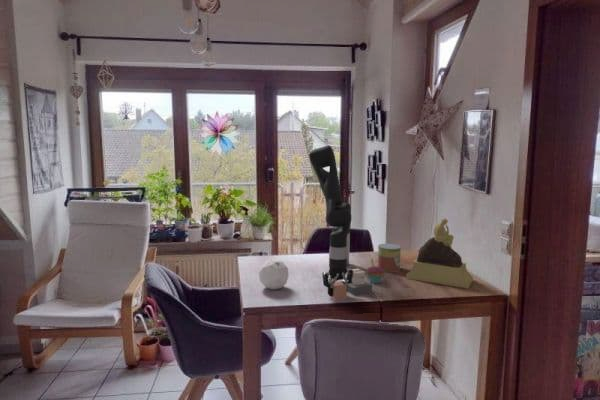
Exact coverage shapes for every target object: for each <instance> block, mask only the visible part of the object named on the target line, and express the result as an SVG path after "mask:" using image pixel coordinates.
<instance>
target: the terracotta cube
mask: <svg viewBox="0 0 600 400" xmlns="http://www.w3.org/2000/svg"><path fill="white" fill-rule="evenodd" d="M332 288H333V296H329V297H330V298H332V299H333V300H335V301H336V300H343V299H347V297H348V295H347V293H348V292H347V285H345V284H343V283H342V282H341V281H336V282H335V283H334V285H333V287H332Z"/></svg>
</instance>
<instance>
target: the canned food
mask: <svg viewBox="0 0 600 400" xmlns="http://www.w3.org/2000/svg"><path fill="white" fill-rule="evenodd" d="M401 247H402V246H401V245H399V244H396V243H381V244H378V246H377V248H378V249H377V250H378V253H377V255H378V256H377V267H381V268H382V269H383V270H384V271H385V273H397V272H399V271H401Z"/></svg>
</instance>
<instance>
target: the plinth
mask: <svg viewBox="0 0 600 400" xmlns="http://www.w3.org/2000/svg"><path fill="white" fill-rule="evenodd" d="M340 282H342V280H340ZM342 283H343V282H342ZM372 291H373V283H371V282H368V281H366V280H365V284H361V285H355V286H354V285H352V284H350V283H349V284H348V285H347V293H349V294H351V295H359V294H364V293H370V292H372Z"/></svg>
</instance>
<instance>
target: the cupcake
mask: <svg viewBox="0 0 600 400" xmlns="http://www.w3.org/2000/svg"><path fill="white" fill-rule="evenodd" d="M371 265H372V266H370V267H368V268H367V269H366V271H365V275H367V277H368V279H369V283H371V284H379V283H380V284H381V281H382V278H383V277H384V276H385V274H386V272H385V271H384V270H383V269H382V268H381V267H378V266H374V259H373V258H371Z"/></svg>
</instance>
